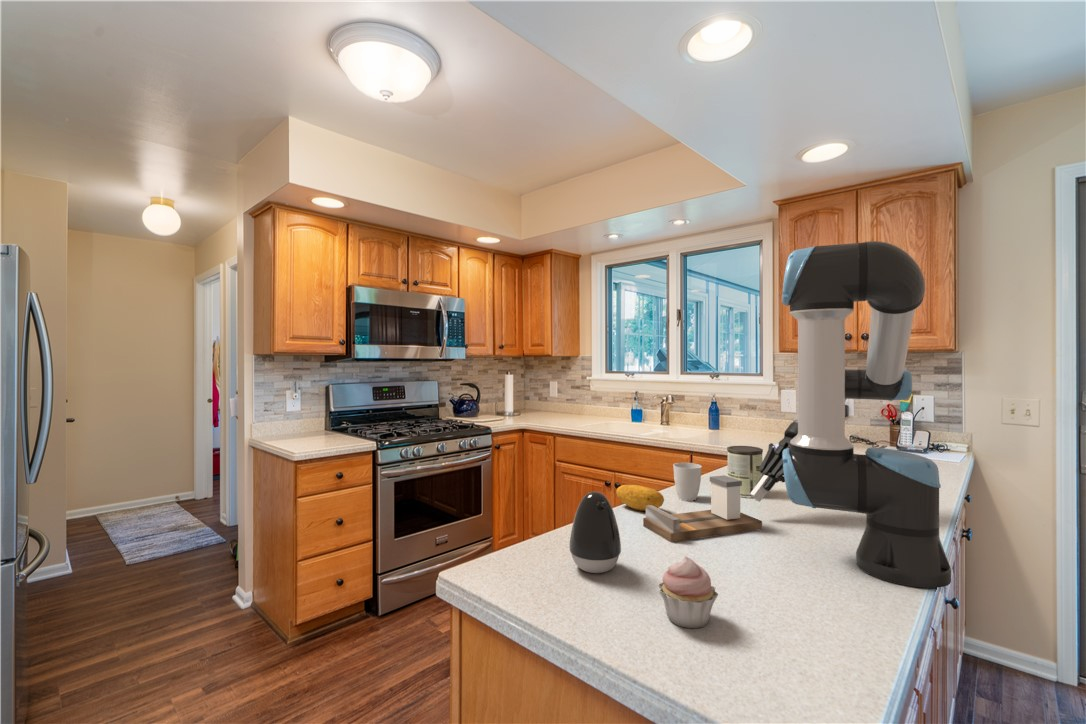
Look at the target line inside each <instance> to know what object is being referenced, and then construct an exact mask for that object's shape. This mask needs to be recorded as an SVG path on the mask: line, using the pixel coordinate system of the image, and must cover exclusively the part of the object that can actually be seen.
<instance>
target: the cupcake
mask: <svg viewBox="0 0 1086 724" xmlns="http://www.w3.org/2000/svg"><path fill="white" fill-rule="evenodd" d="M711 582H712V580H711V577H710V575H709V573H708V572H707V571H706V570H705V569H704V568H703V567H702V566H701V565H699V564H697V563H696V561H694V560H693V559H691V557H688V556H687V555H684V557H683V560H682V561H680V562H679V561H678V562H677V563H673V564H671V565H670V566H669V567H668V569H667V570H666V571H665V572H664V573H663V575H662V582H659V583H657V586H658V588H659V589H658V592H659V594H660V596H661V598H662V600H663V604H664V608H665V609H664V610H665V612H666V613H665V614H666V616H667V618H668V619H669V621H670V622H671V623H672V624H674V625H676V626H679V627H682V628H687V629H699V628H703V627H704V626H706V625H707V623H709V619H710V616H711V612H712V608H713V606H714V603H715V601H716V599H717V598H718V596H719V593H718V592H716V589H717V588H716V587H715V586H713V585H712V583H711Z"/></svg>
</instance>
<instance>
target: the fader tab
mask: <svg viewBox="0 0 1086 724" xmlns="http://www.w3.org/2000/svg"><path fill="white" fill-rule="evenodd" d="M709 482H710V491H711V493H710V499H711V500H710V510H711V513H713V514H715V515H717V516H720V517H722V518H724V519H727V520H729V519H736V518H740V512H741V497H740V486H742V481H741V480H738V479H734V478H731V477H728V475H712V476H709Z"/></svg>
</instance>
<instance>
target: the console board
mask: <svg viewBox="0 0 1086 724" xmlns="http://www.w3.org/2000/svg"><path fill="white" fill-rule="evenodd" d="M642 520H643V521H642V522H643V527H644V528H646V529H648V530H649V531H651V532H653V533H654V534H656V535H658V536H660V537H661V538H662V539H664V540H666V541H668V542H669V543H675V542H683V541H688V540H690V541H691V540H696V539H702V538H703V539H704V538H711V537H717V536H723V535H731V534H738V533H746V532H752V530H753V531H758V529H760V530H763V521H762V520H761V519H759V518H755V517H753V516H750V515H749V514H746V513H744V512H741V511H740V518H736V519H729V520H727V519H724V518H722V517H720V516H717V515H715V514H713V513H711V509H706V510H697V511H690V512H680V513H673V514H670V513H668V512H666V511H664V510H662V509H660V508H656V507H654V506H652V505H647V506H646V511H645V517H643V518H642Z"/></svg>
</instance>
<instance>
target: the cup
mask: <svg viewBox="0 0 1086 724" xmlns="http://www.w3.org/2000/svg"><path fill="white" fill-rule="evenodd" d="M672 466H673V467H672V468H673V479H674V485H675V492H676V495H677V497H678V500H680V499H681V500H680V501H683V500H688V501H687V502H693V501H692V500H695V501H696V500H697V498H698V495H699V492H700V487H701V482H702V481H701V480H702V468H703V467H702V465H701V464H698V463H694V462H676V463H673V464H672Z"/></svg>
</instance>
